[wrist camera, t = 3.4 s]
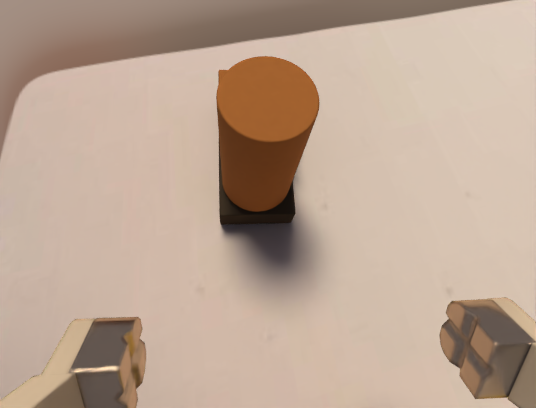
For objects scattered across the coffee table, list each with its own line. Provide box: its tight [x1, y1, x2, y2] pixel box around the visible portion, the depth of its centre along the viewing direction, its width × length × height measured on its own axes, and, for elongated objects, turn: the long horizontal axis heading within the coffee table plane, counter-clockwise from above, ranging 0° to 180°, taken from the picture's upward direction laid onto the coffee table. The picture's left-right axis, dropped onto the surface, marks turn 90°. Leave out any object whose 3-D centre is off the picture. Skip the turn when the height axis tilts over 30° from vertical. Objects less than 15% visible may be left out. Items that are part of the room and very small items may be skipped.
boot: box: [216, 56, 319, 225], centre depth 22 cm, size 5×10×11 cm, turn 3°
